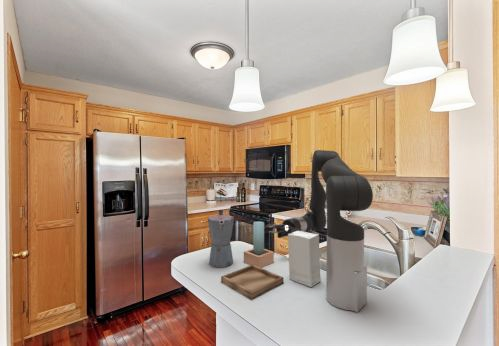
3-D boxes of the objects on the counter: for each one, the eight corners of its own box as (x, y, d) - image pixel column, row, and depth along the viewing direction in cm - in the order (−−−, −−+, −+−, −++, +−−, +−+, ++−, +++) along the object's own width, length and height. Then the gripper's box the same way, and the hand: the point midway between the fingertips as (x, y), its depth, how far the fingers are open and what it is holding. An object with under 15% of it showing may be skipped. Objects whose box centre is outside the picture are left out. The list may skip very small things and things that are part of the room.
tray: (283, 283, 73) (283, 277, 73) (251, 299, 63) (251, 293, 63) (252, 269, 83) (252, 264, 83) (221, 282, 73) (221, 276, 73)
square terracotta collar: (273, 262, 89) (273, 251, 89) (258, 268, 84) (258, 257, 83) (258, 256, 95) (258, 246, 95) (243, 262, 89) (243, 251, 89)
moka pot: (209, 272, 80) (209, 213, 80) (206, 256, 95) (206, 206, 95) (236, 269, 82) (236, 212, 82) (229, 254, 97) (230, 205, 97)
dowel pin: (266, 262, 89) (266, 222, 89) (258, 265, 86) (258, 224, 86) (258, 259, 92) (258, 221, 92) (251, 262, 89) (251, 222, 89)
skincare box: (320, 281, 74) (321, 234, 74) (310, 288, 70) (310, 238, 69) (298, 273, 80) (298, 229, 80) (287, 279, 76) (287, 232, 75)
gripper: (282, 215, 110) (257, 220, 98) (308, 220, 99) (284, 226, 88) (281, 231, 110) (257, 238, 99) (308, 238, 99) (284, 246, 88)
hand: (270, 232), depth 93 cm, fingers open, 8 cm apart
